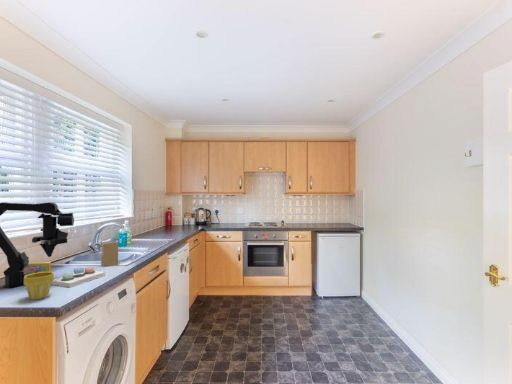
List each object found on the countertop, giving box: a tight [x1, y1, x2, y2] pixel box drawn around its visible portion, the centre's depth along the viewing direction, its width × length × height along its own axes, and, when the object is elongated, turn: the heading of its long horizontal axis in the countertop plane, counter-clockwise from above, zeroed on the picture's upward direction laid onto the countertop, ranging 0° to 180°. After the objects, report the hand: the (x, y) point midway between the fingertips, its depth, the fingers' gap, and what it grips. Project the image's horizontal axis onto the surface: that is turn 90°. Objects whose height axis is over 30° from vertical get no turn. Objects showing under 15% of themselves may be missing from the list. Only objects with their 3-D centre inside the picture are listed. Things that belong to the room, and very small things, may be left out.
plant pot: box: [23, 271, 55, 301], centre depth 120 cm, size 10×10×10 cm
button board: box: [51, 270, 106, 288], centre depth 144 cm, size 20×14×2 cm
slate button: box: [73, 267, 85, 274], centre depth 144 cm, size 4×4×2 cm
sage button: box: [61, 272, 74, 280], centre depth 138 cm, size 4×4×2 cm
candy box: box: [22, 261, 52, 276], centre depth 148 cm, size 16×2×8 cm, turn 95°
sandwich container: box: [100, 241, 119, 268], centre depth 177 cm, size 9×15×15 cm, turn 35°
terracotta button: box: [84, 266, 95, 273], centre depth 149 cm, size 4×4×2 cm
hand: (49, 256), depth 141 cm, fingers closed
